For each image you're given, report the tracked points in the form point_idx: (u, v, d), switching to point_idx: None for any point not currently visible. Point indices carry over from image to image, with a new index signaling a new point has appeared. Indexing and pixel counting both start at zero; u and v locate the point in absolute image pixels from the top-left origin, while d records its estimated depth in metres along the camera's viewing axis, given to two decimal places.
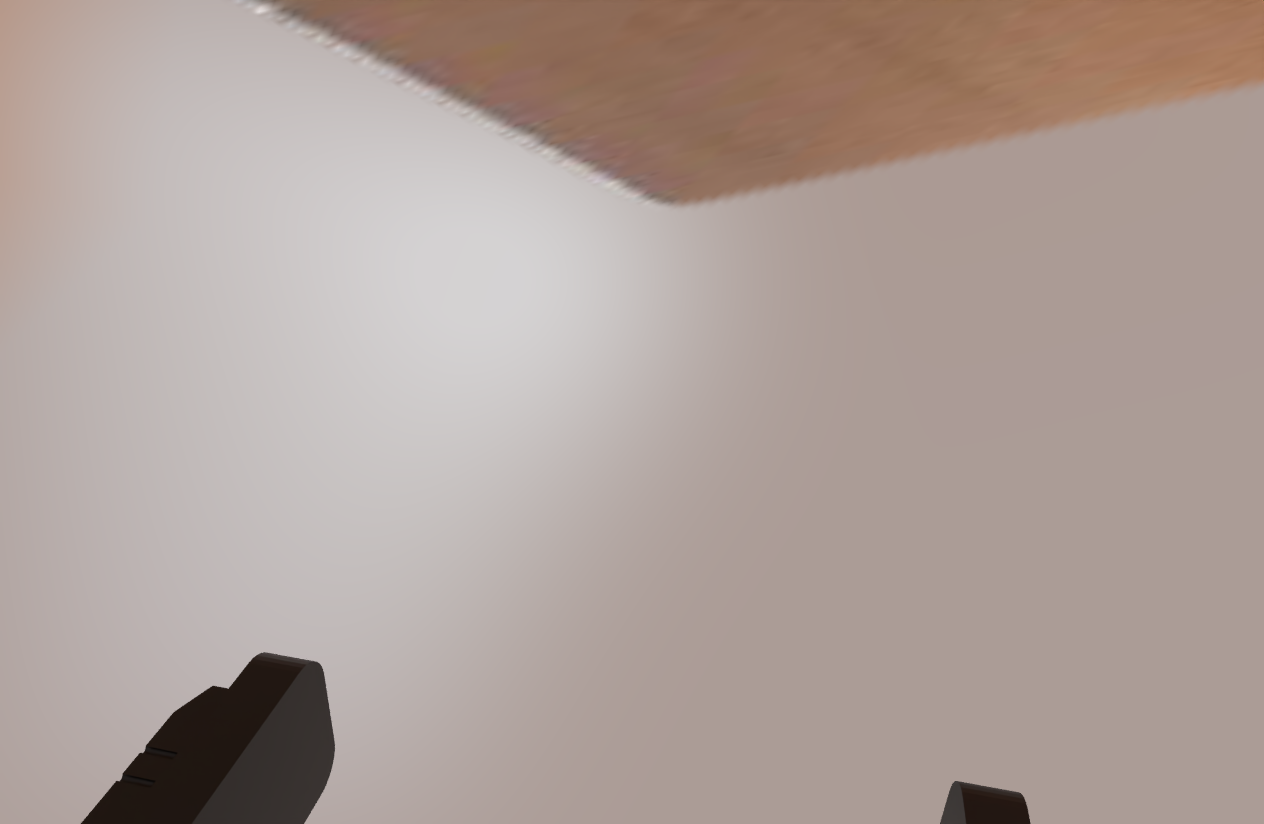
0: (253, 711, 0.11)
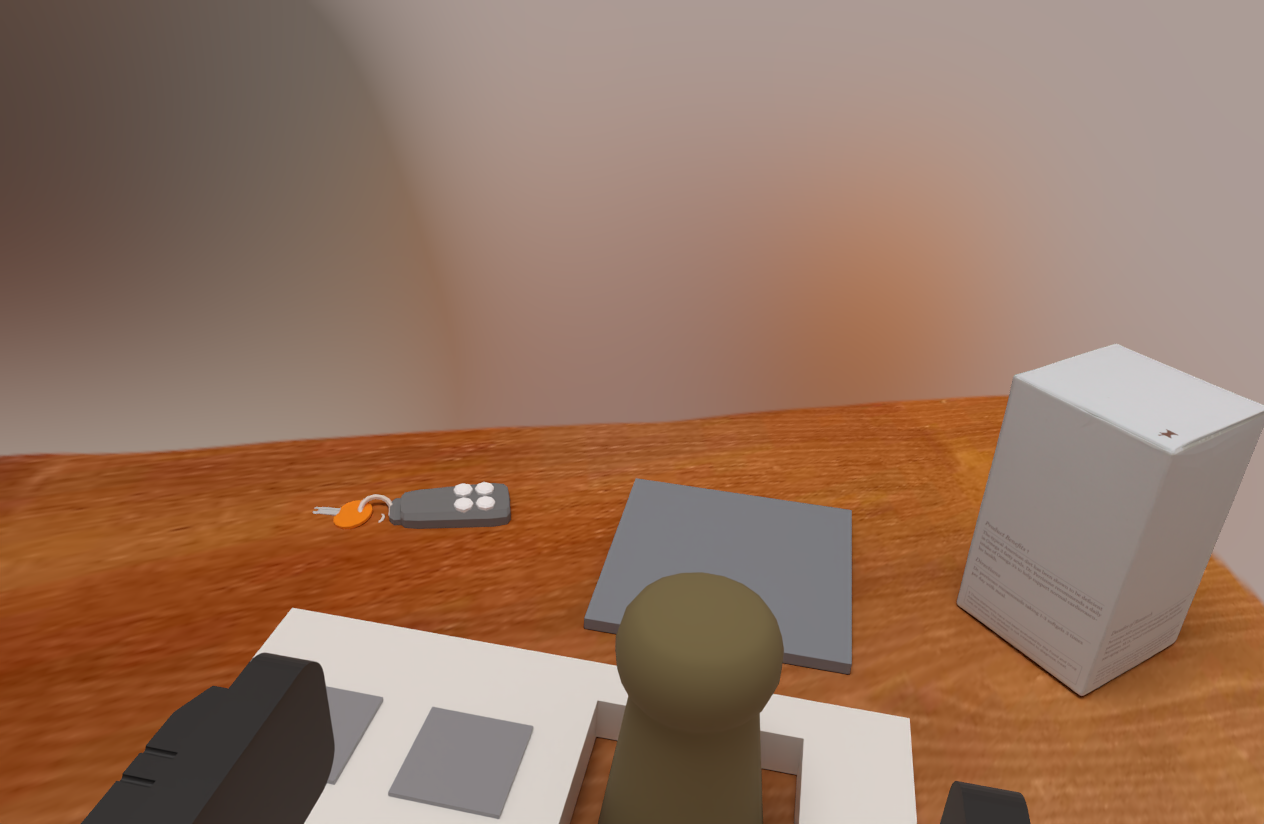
0: (253, 711, 0.11)
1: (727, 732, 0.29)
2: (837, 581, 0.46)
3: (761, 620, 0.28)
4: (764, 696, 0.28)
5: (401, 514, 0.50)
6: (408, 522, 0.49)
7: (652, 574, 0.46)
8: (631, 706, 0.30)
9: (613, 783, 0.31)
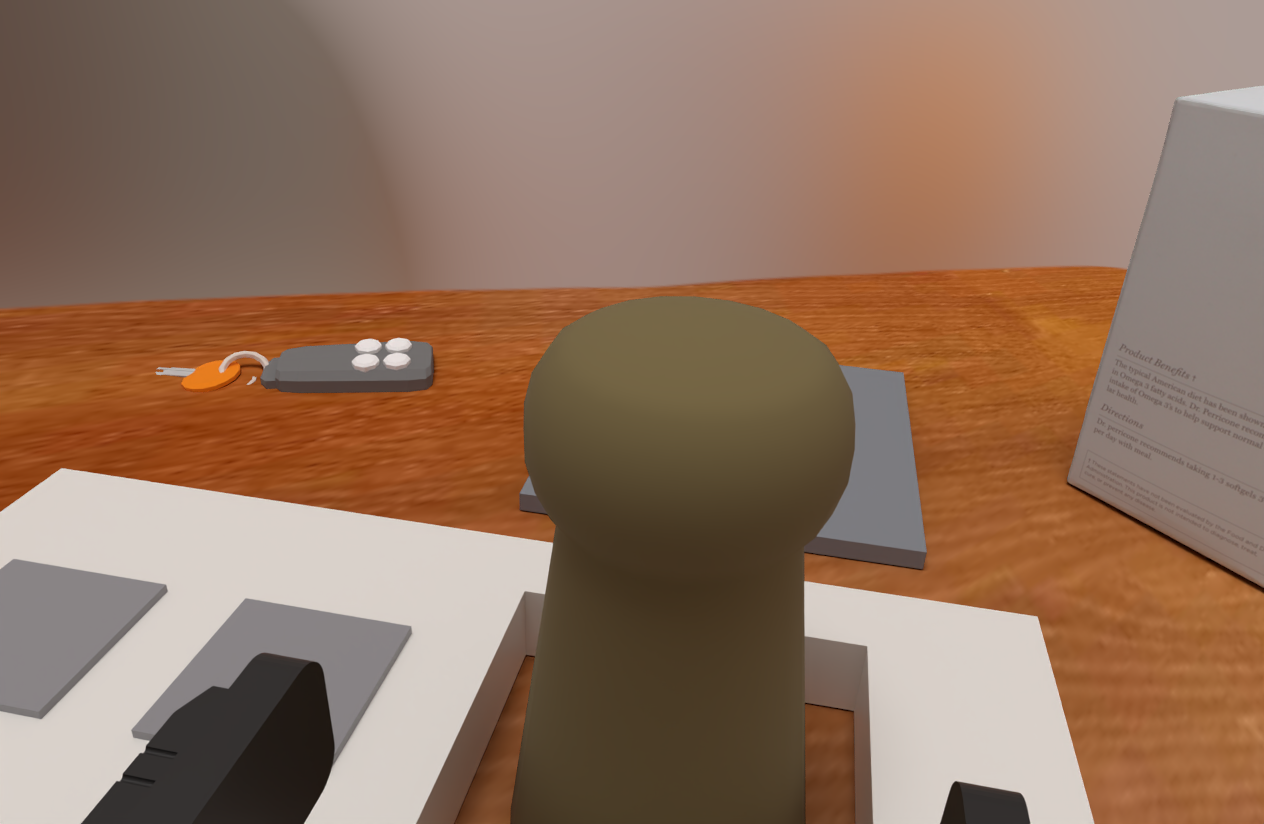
0: (253, 711, 0.11)
1: (745, 582, 0.14)
2: (892, 451, 0.32)
3: (811, 352, 0.14)
4: (821, 499, 0.13)
5: (276, 373, 0.35)
6: (285, 384, 0.35)
7: None
8: (557, 546, 0.15)
9: (532, 706, 0.17)
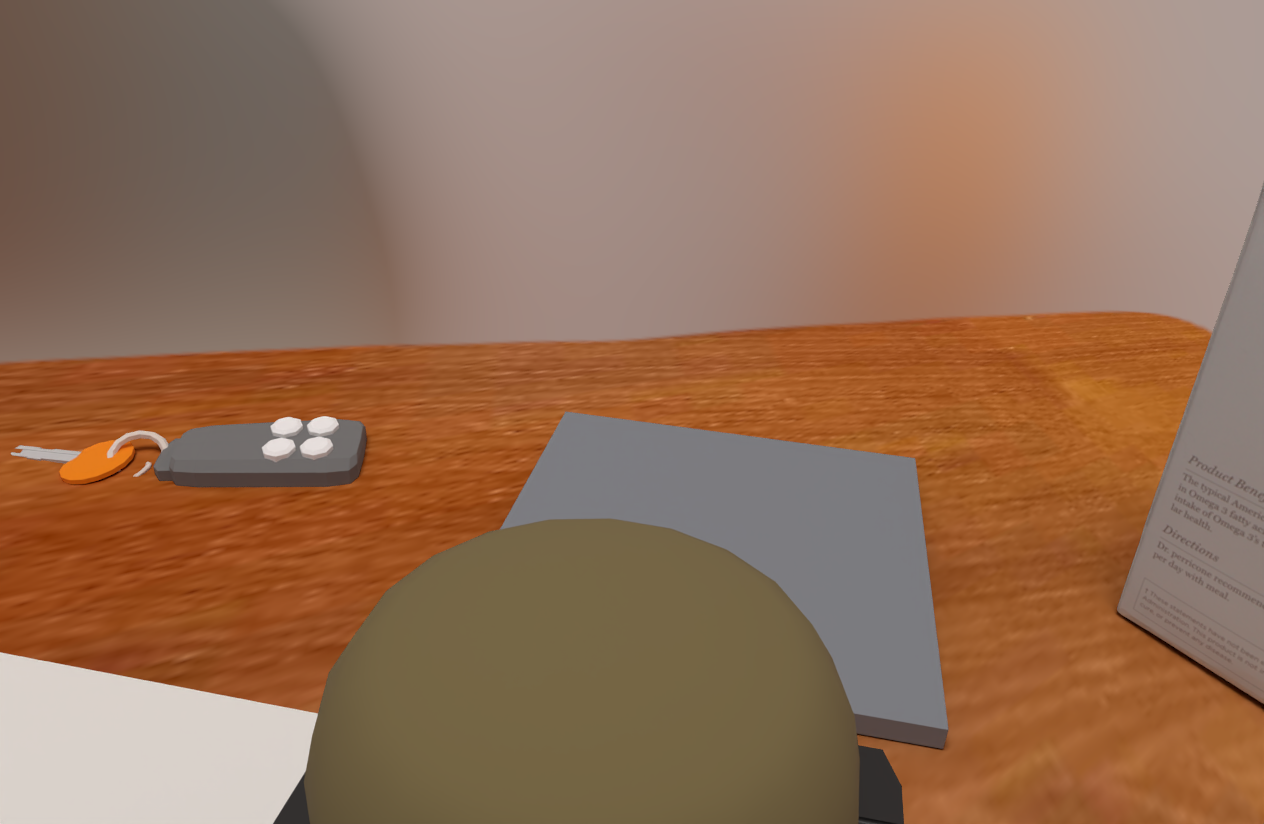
0: None
1: None
2: (903, 572, 0.26)
3: (787, 665, 0.08)
4: None
5: (170, 462, 0.29)
6: (180, 475, 0.29)
7: None
8: None
9: None
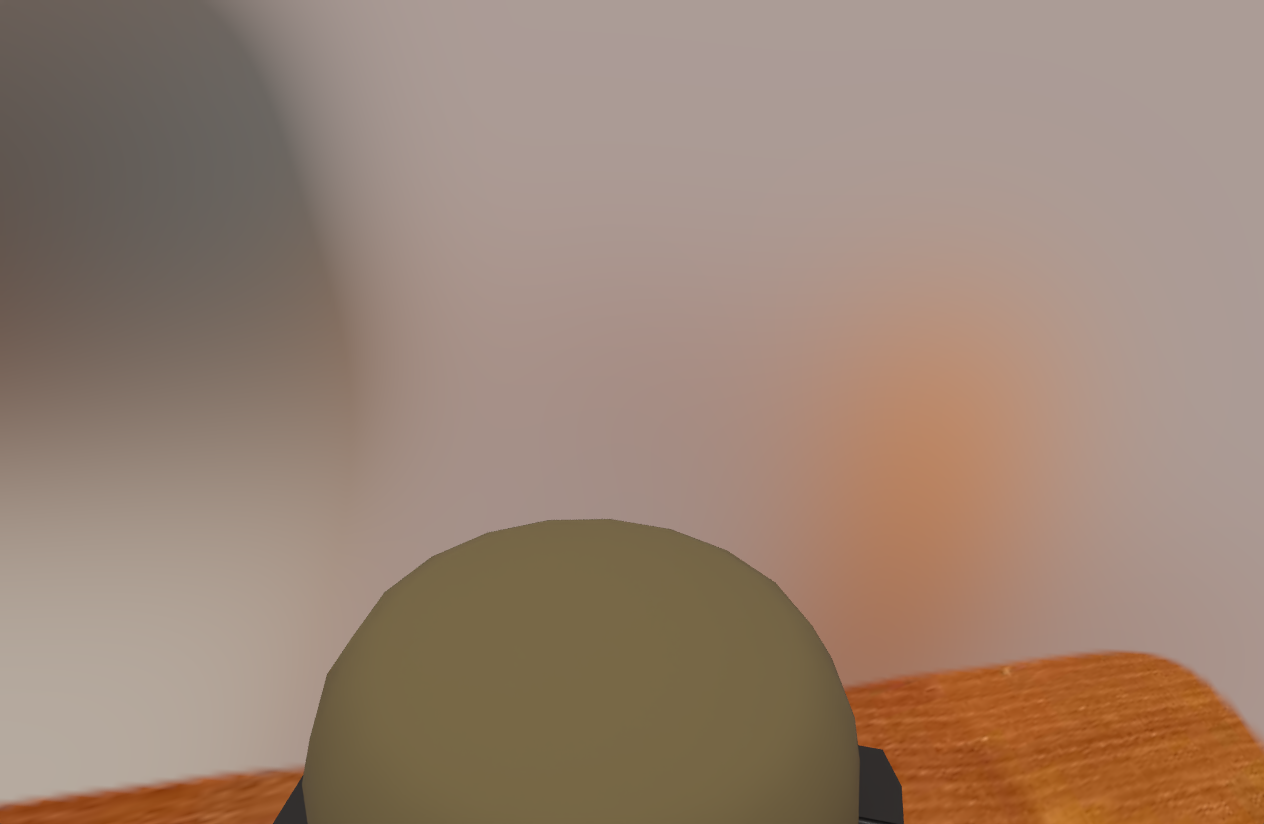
0: None
1: None
2: None
3: (786, 666, 0.08)
4: None
5: None
6: None
7: None
8: None
9: None
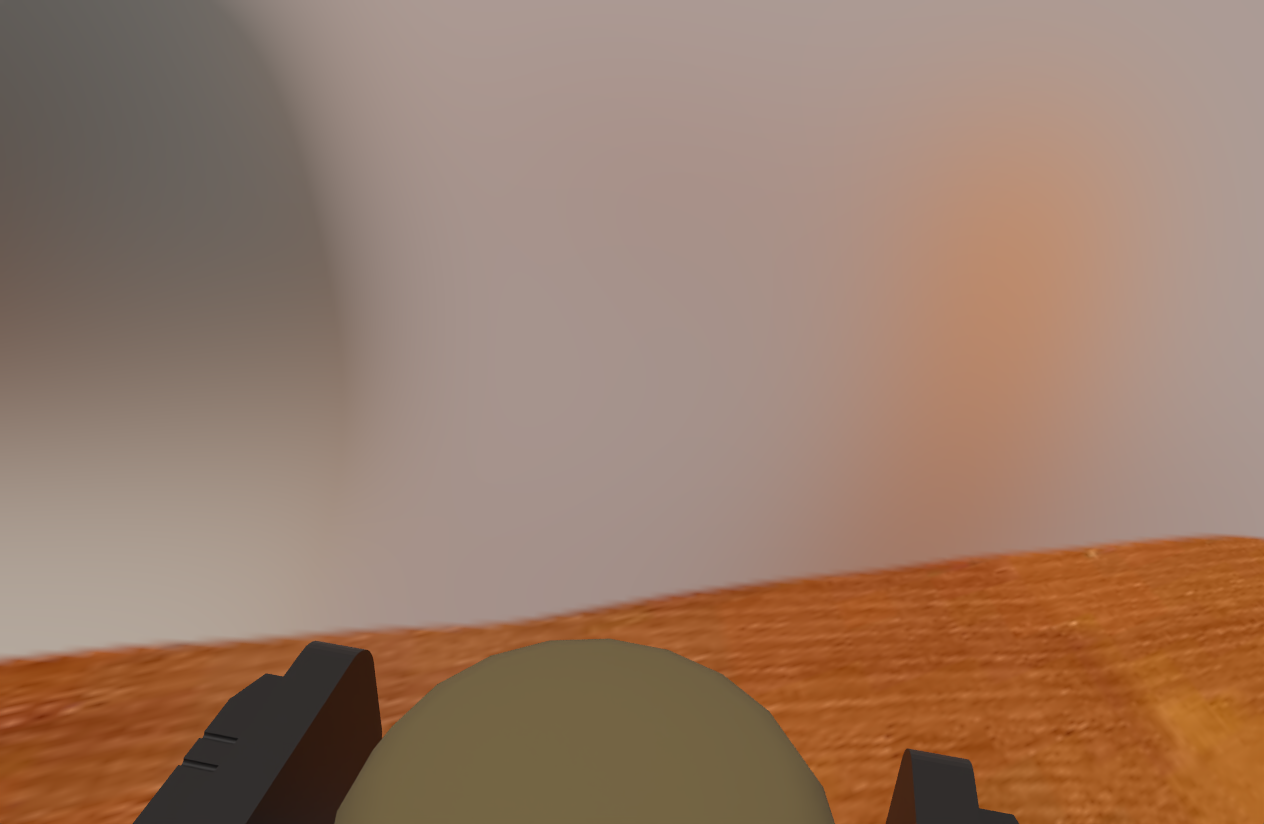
0: (309, 697, 0.11)
1: None
2: None
3: (780, 813, 0.09)
4: None
5: None
6: None
7: None
8: None
9: None
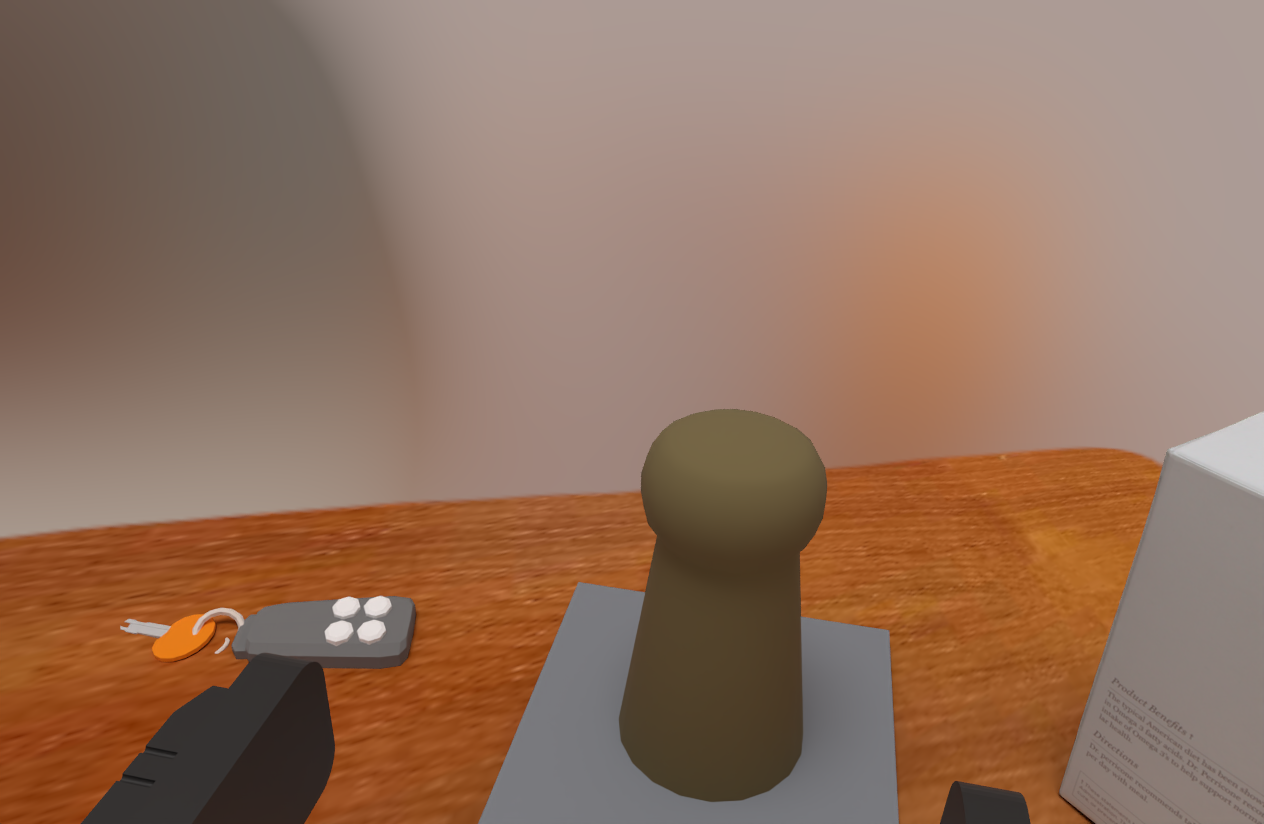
0: (253, 711, 0.11)
1: (766, 572, 0.26)
2: (872, 759, 0.30)
3: (802, 446, 0.26)
4: (807, 527, 0.25)
5: (246, 643, 0.34)
6: (254, 656, 0.34)
7: (588, 749, 0.30)
8: (659, 553, 0.27)
9: (639, 648, 0.29)
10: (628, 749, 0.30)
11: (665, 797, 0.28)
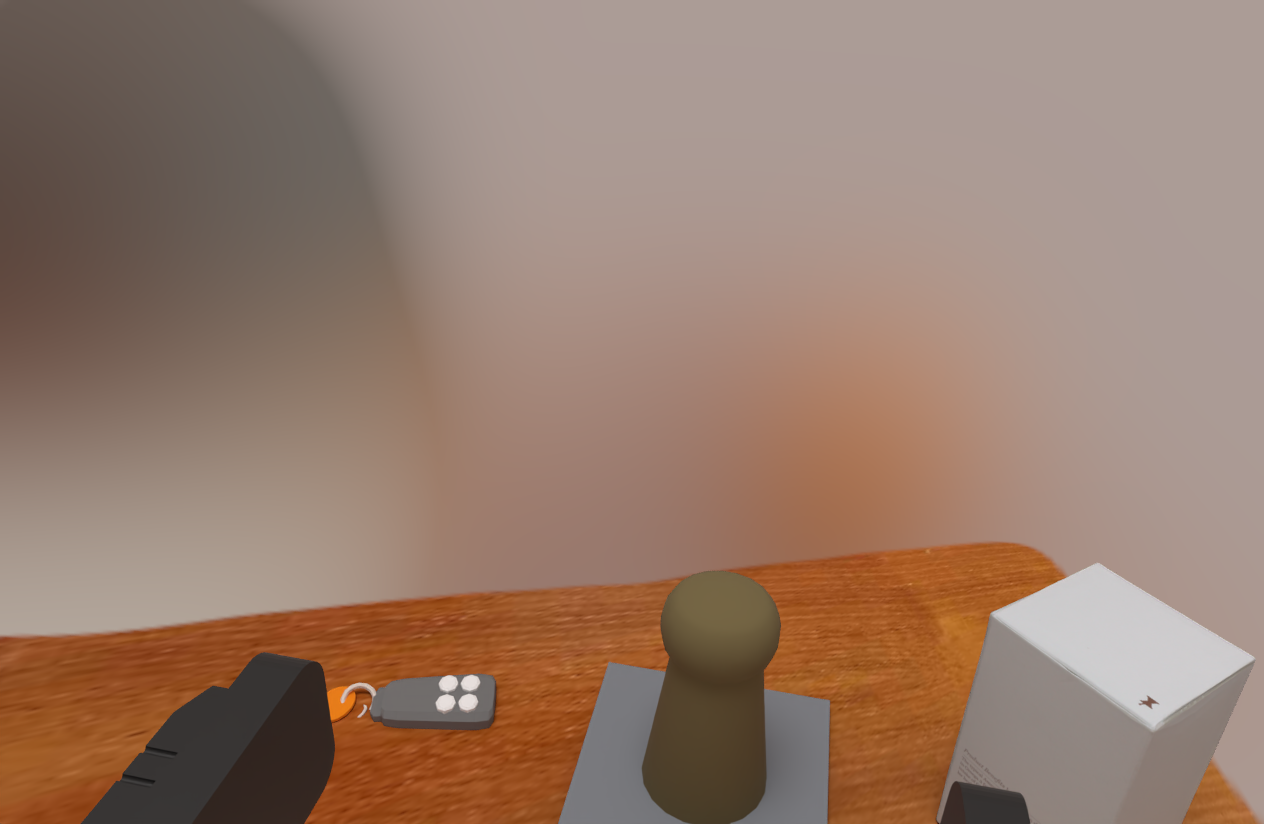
0: (253, 711, 0.11)
1: (741, 683, 0.40)
2: (812, 796, 0.45)
3: (764, 603, 0.40)
4: (767, 657, 0.40)
5: (381, 711, 0.48)
6: (387, 720, 0.48)
7: (621, 789, 0.45)
8: (672, 667, 0.42)
9: (657, 725, 0.43)
10: (649, 790, 0.44)
11: (674, 823, 0.43)
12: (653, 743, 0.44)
